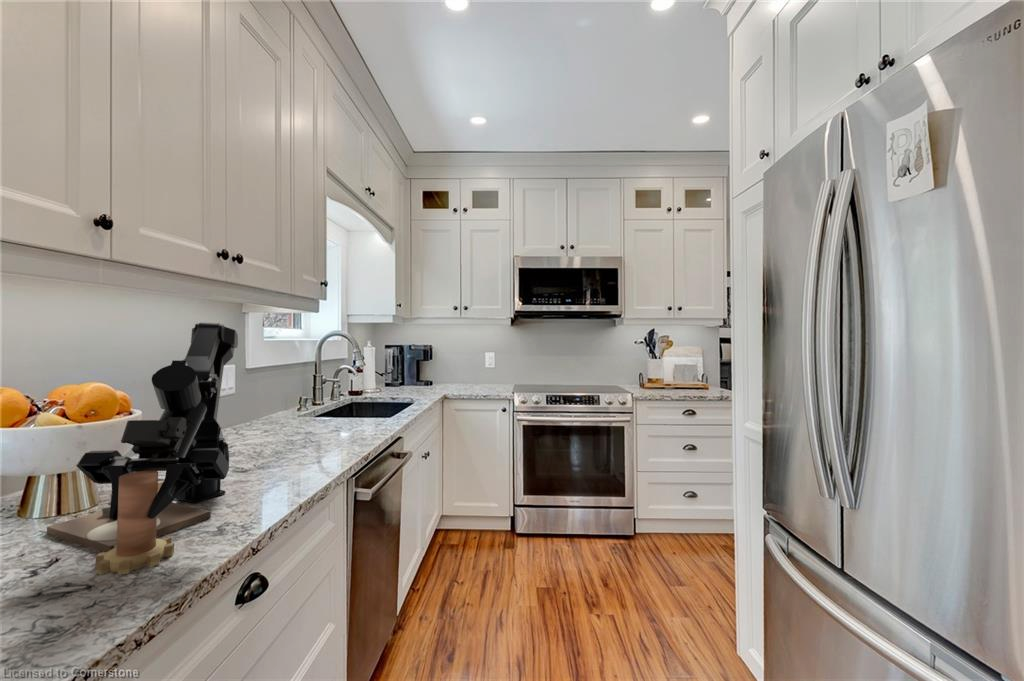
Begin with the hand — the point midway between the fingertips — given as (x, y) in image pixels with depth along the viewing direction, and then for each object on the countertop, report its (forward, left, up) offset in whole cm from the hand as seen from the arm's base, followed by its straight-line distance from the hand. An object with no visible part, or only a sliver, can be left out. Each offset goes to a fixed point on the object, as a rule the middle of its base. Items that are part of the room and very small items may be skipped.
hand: (131, 518), depth 62 cm
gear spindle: (-1, -1, -7) cm, 7 cm away
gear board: (-8, -15, -7) cm, 18 cm away
